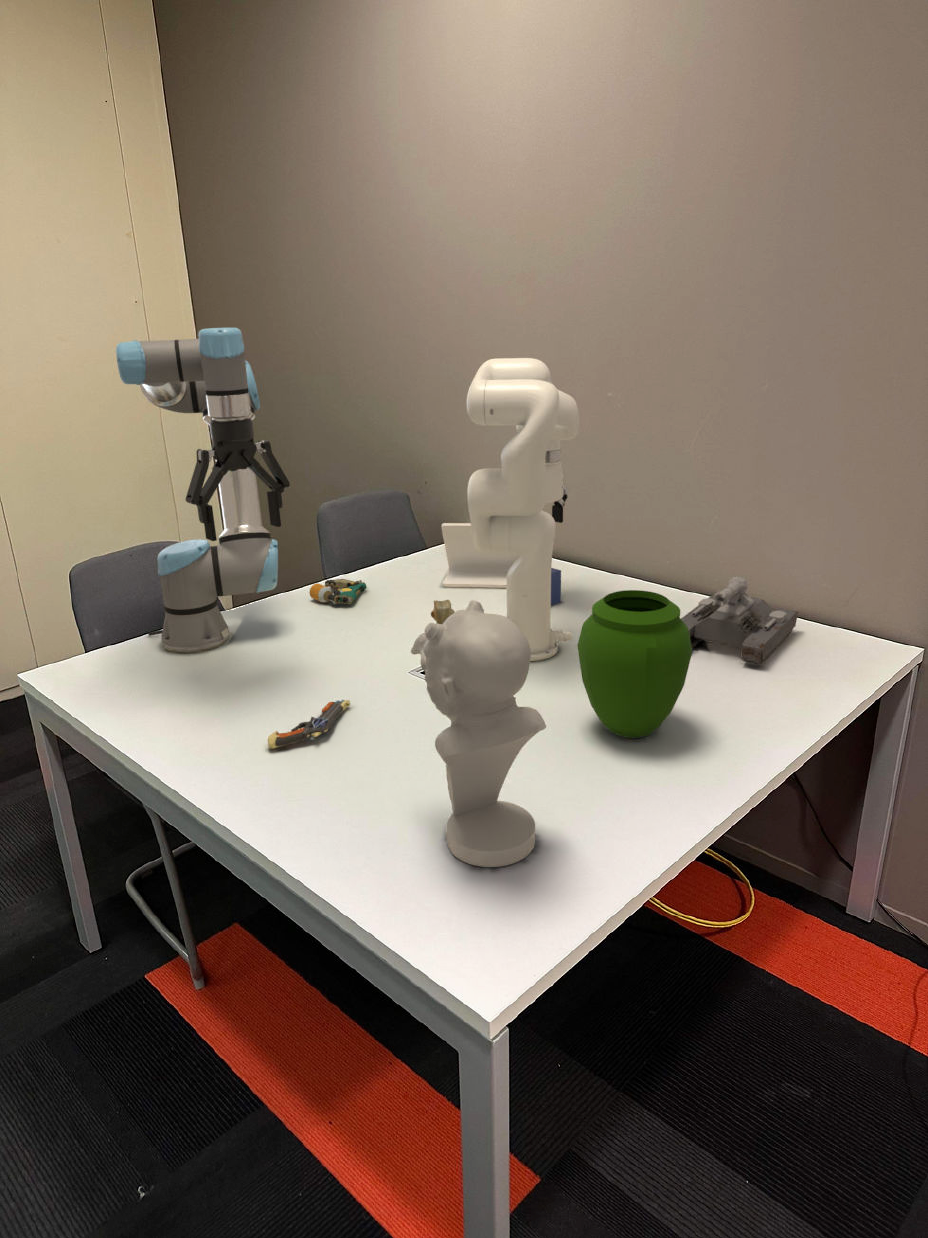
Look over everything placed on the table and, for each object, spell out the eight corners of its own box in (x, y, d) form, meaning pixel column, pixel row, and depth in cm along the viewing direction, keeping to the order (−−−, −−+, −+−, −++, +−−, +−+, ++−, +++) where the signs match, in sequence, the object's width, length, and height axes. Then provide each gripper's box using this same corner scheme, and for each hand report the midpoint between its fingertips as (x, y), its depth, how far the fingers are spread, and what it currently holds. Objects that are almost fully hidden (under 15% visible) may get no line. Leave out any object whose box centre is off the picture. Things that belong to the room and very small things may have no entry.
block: (539, 596, 223) (539, 564, 220) (560, 602, 218) (561, 570, 215) (526, 600, 219) (525, 569, 216) (547, 607, 214) (547, 574, 211)
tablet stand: (534, 588, 228) (534, 526, 222) (442, 586, 231) (439, 525, 225) (538, 568, 245) (538, 509, 239) (451, 566, 248) (449, 509, 242)
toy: (710, 615, 205) (715, 555, 200) (796, 631, 194) (803, 568, 189) (667, 650, 186) (671, 585, 181) (759, 670, 175) (767, 601, 170)
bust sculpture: (481, 772, 140) (476, 569, 128) (565, 848, 120) (569, 617, 108) (392, 800, 134) (378, 588, 121) (465, 886, 114) (457, 642, 101)
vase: (701, 718, 156) (710, 592, 147) (663, 766, 141) (671, 629, 132) (602, 695, 166) (606, 576, 157) (557, 738, 151) (558, 608, 142)
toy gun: (262, 738, 148) (316, 736, 146) (302, 698, 166) (350, 695, 164) (265, 752, 149) (319, 750, 147) (304, 710, 167) (353, 708, 165)
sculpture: (458, 662, 183) (456, 596, 178) (460, 676, 176) (457, 608, 171) (431, 663, 183) (428, 597, 177) (431, 677, 176) (428, 609, 171)
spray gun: (334, 586, 236) (381, 594, 231) (299, 601, 222) (348, 610, 216) (334, 571, 235) (381, 579, 229) (298, 586, 221) (348, 594, 215)
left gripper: (279, 409, 164) (290, 517, 172) (155, 424, 149) (173, 542, 156) (300, 412, 159) (311, 523, 167) (174, 428, 143) (192, 549, 151)
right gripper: (556, 450, 214) (556, 516, 220) (508, 459, 203) (509, 529, 209) (580, 453, 209) (578, 521, 215) (531, 463, 198) (531, 535, 204)
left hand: (244, 532), depth 161 cm, fingers open, 13 cm apart
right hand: (544, 525), depth 212 cm, fingers open, 9 cm apart
